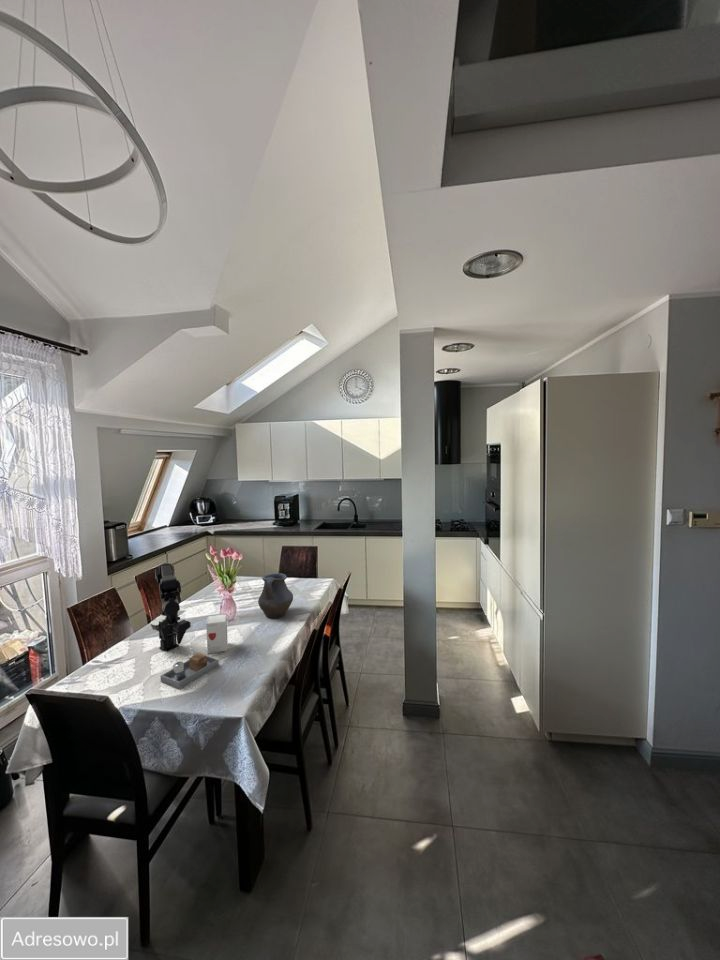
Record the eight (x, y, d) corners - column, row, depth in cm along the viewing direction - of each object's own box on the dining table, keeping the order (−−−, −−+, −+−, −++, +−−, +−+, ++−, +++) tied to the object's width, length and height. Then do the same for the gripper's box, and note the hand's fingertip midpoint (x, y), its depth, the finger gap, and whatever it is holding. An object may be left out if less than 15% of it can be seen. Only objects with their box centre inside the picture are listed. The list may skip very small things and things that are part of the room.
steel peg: (173, 678, 164) (171, 665, 163) (182, 673, 167) (179, 660, 166) (178, 681, 162) (176, 668, 161) (187, 675, 165) (185, 663, 164)
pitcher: (297, 608, 238) (296, 568, 237) (287, 623, 217) (286, 580, 215) (265, 608, 240) (263, 568, 239) (252, 623, 219) (250, 579, 217)
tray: (200, 659, 181) (200, 653, 180) (218, 665, 175) (218, 659, 175) (160, 681, 163) (160, 675, 163) (179, 689, 157) (179, 682, 157)
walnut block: (199, 663, 176) (198, 652, 176) (206, 665, 174) (206, 655, 173) (189, 668, 171) (189, 657, 171) (197, 671, 169) (197, 660, 169)
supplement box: (206, 654, 185) (205, 623, 184) (208, 645, 194) (207, 616, 193) (227, 651, 188) (225, 621, 187) (228, 642, 196) (226, 613, 195)
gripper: (139, 610, 168) (141, 645, 169) (167, 617, 160) (169, 654, 161) (163, 601, 178) (165, 634, 179) (190, 608, 169) (192, 643, 170)
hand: (172, 641), depth 172 cm, fingers open, 9 cm apart
